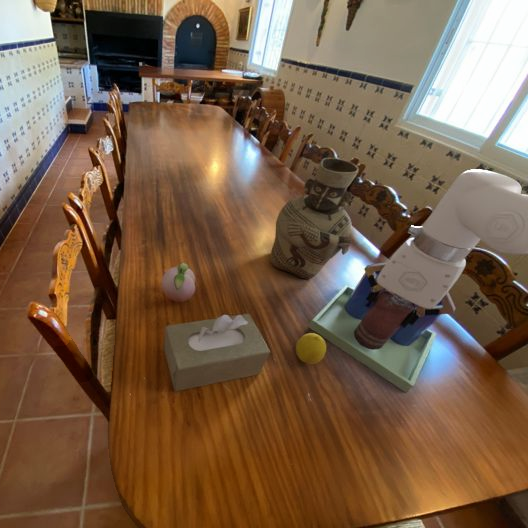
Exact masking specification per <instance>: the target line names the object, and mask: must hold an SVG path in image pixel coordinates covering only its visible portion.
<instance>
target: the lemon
mask: <svg viewBox="0 0 528 528" xmlns="http://www.w3.org/2000/svg"><path fill="white" fill-rule="evenodd" d="M326 352H327V344H326V341H325V338H324V337H323V336H321V335H320V334H318V333H314V332H309V333H306V334H304V335H302V336H301V337H300V338H299V339H298V340H297V342H296V345H295V353H296V356H297V357H298V359H299V360H300V361H301V362H302V363H305V364H307V365H314V364H317V363H320V362H321V361H322V360H323V359H324V357H325V355H326Z"/></svg>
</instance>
